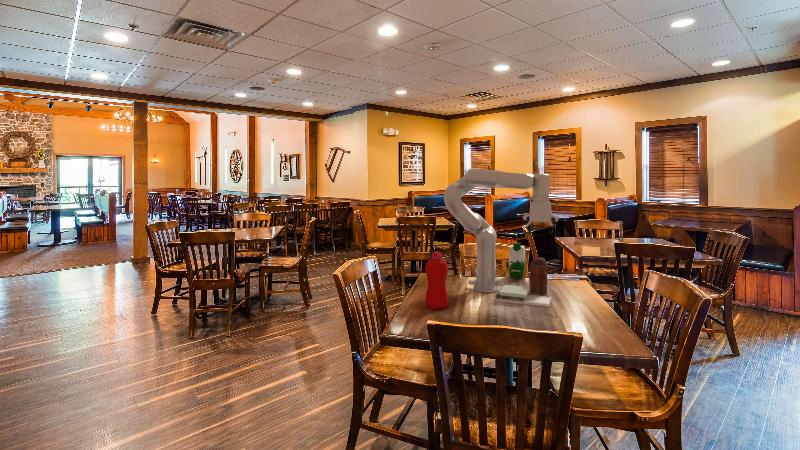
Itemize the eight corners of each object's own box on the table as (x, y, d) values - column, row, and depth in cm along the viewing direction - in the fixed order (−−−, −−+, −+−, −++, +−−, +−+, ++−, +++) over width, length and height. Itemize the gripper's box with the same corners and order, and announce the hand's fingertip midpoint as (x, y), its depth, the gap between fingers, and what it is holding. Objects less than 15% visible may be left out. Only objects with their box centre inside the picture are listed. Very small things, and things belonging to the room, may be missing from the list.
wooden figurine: (551, 294, 221) (552, 259, 219) (540, 296, 219) (541, 260, 217) (537, 289, 232) (538, 255, 230) (526, 290, 230) (527, 255, 228)
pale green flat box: (499, 298, 209) (499, 291, 209) (505, 291, 222) (505, 284, 222) (525, 301, 205) (525, 294, 204) (529, 293, 217) (530, 287, 217)
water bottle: (435, 311, 195) (435, 255, 192) (422, 305, 205) (422, 251, 202) (452, 308, 199) (453, 253, 196) (439, 302, 209) (439, 249, 206)
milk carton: (508, 278, 256) (508, 243, 254) (509, 274, 265) (510, 241, 262) (523, 279, 253) (524, 244, 251) (524, 275, 262) (525, 242, 259)
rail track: (495, 300, 211) (495, 293, 210) (500, 294, 223) (500, 287, 222) (548, 306, 201) (548, 299, 201) (551, 299, 213) (551, 292, 213)
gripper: (521, 199, 219) (520, 233, 221) (558, 199, 212) (557, 235, 214) (524, 198, 226) (523, 231, 228) (560, 198, 218) (559, 233, 221)
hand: (540, 233), depth 221 cm, fingers open, 9 cm apart
